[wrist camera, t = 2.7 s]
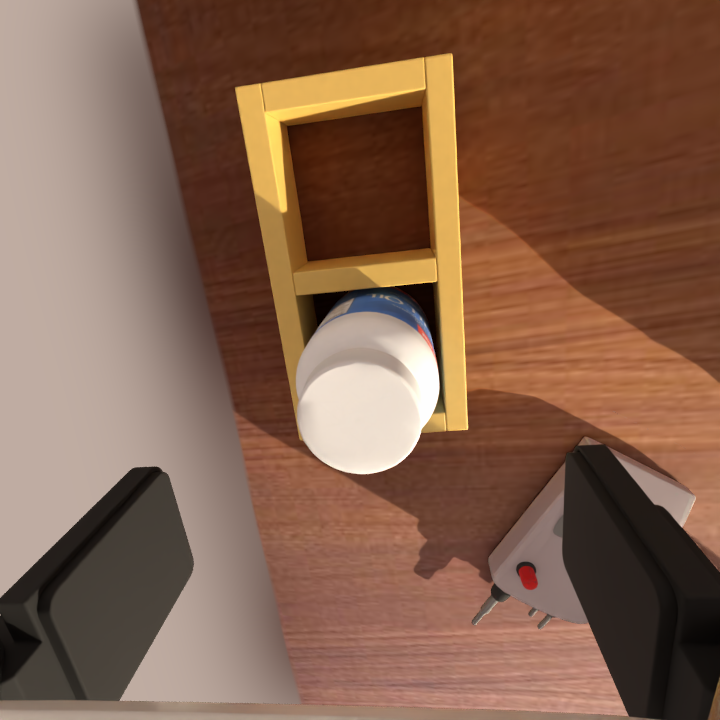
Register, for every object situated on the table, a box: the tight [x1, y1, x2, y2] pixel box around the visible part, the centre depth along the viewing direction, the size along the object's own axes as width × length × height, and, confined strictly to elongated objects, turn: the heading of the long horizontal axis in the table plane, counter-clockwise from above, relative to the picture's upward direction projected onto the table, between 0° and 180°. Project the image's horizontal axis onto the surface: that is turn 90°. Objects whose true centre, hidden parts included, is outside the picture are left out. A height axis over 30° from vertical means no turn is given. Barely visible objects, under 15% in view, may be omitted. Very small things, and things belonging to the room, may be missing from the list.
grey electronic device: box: [472, 411, 695, 629], centre depth 25 cm, size 7×16×3 cm, turn 154°
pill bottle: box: [296, 286, 439, 474], centre depth 19 cm, size 6×5×10 cm
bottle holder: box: [235, 53, 468, 440], centre depth 20 cm, size 8×15×4 cm, turn 7°
